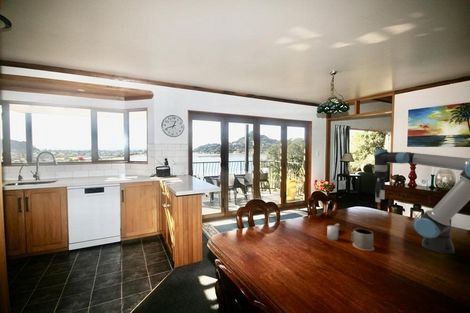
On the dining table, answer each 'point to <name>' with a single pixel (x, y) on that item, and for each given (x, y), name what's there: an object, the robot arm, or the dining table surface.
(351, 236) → the cradle
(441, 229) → the robot arm
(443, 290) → the dining table surface
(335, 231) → the white cylinder
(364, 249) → the mat
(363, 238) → the planter
